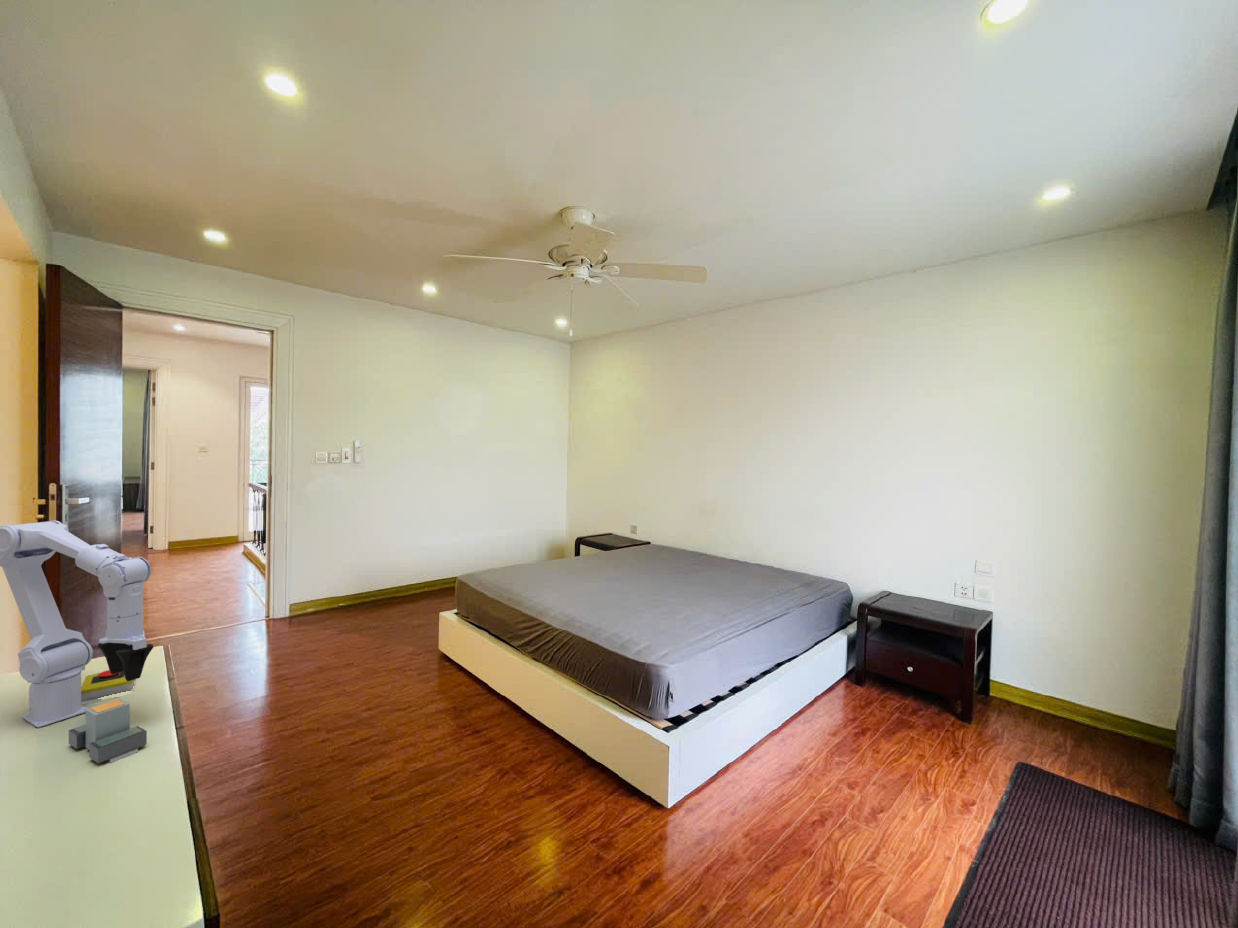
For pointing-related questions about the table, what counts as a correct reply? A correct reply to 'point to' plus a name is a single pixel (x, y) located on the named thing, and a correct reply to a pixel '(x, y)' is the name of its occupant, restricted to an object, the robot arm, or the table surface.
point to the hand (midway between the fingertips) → (125, 675)
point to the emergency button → (103, 686)
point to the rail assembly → (110, 743)
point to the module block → (107, 720)
